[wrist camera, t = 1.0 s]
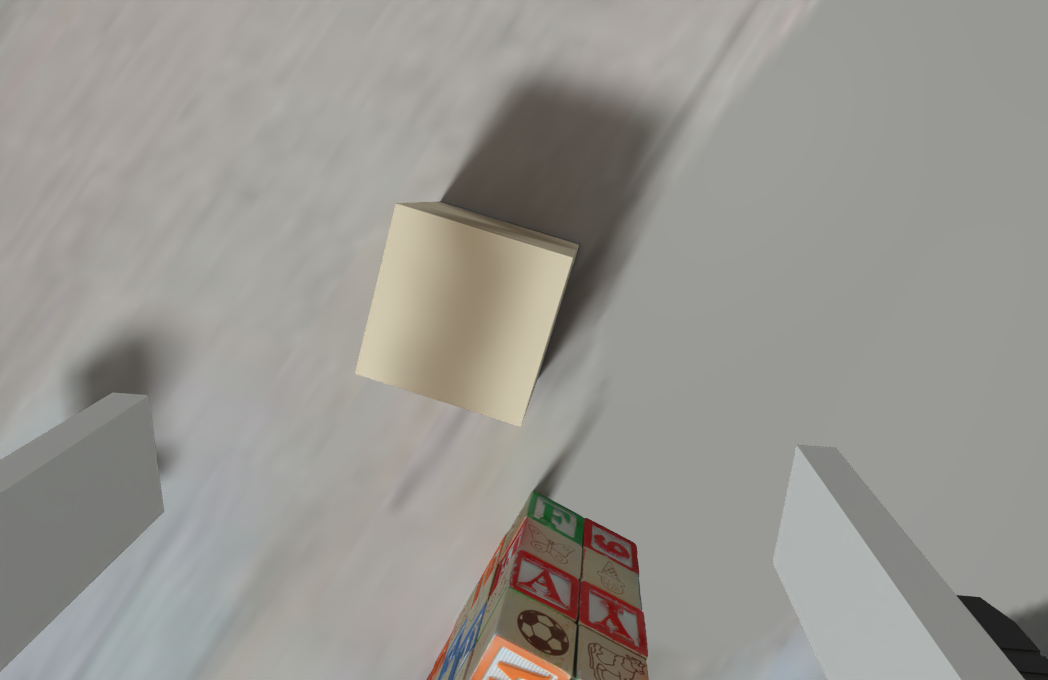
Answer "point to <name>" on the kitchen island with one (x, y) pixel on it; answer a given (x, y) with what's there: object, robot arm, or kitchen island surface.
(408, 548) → the kitchen island surface
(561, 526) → the stack of blocks
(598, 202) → the kitchen island surface
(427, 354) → the beech cube
